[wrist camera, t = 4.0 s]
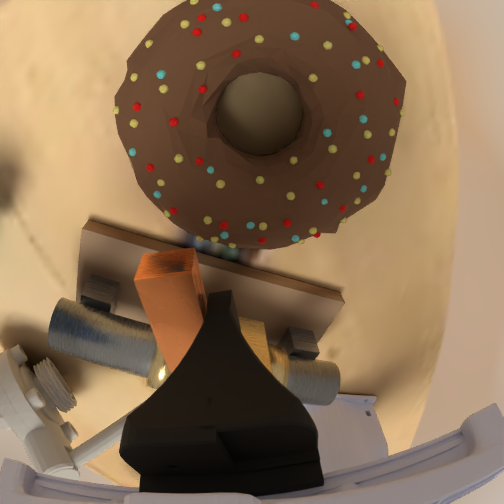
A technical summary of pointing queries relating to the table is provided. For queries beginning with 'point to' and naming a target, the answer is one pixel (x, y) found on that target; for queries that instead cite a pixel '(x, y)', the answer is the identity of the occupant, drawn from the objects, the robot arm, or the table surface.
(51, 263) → the table surface
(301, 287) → the walnut board
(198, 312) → the valve lever
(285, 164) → the donut
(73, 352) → the pipe and valve body
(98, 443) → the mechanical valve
